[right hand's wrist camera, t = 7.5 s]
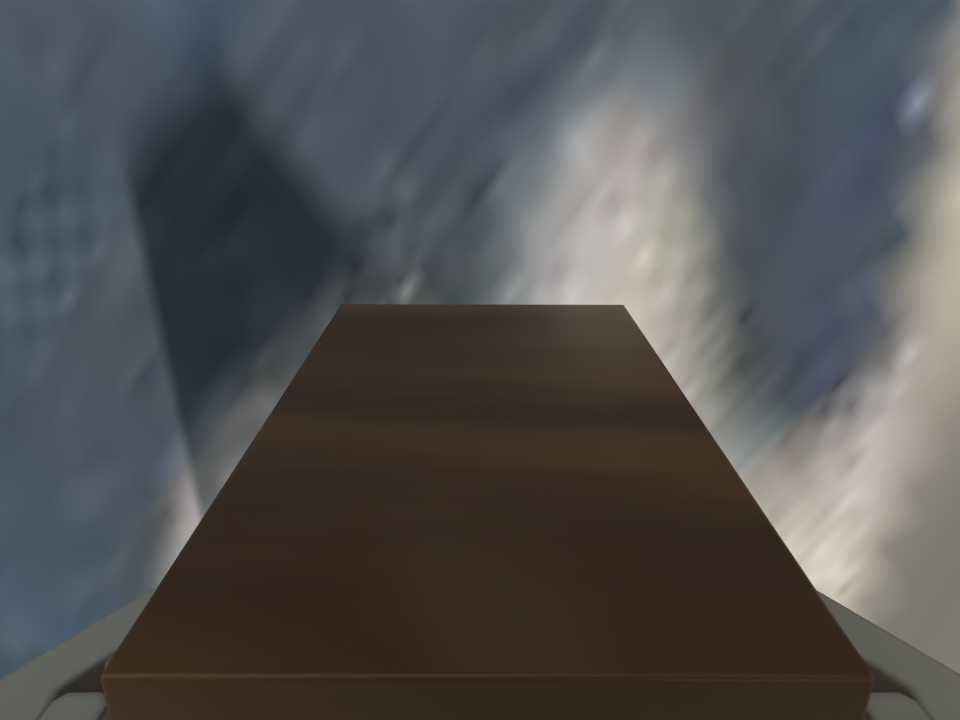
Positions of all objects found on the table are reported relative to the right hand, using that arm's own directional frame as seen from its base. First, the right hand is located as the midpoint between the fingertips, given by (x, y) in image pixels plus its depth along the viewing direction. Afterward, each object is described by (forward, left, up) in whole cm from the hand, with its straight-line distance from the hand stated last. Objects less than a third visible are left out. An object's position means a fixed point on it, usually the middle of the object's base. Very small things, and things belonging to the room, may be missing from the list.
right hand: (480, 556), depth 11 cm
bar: (+8, 0, -4) cm, 9 cm away
